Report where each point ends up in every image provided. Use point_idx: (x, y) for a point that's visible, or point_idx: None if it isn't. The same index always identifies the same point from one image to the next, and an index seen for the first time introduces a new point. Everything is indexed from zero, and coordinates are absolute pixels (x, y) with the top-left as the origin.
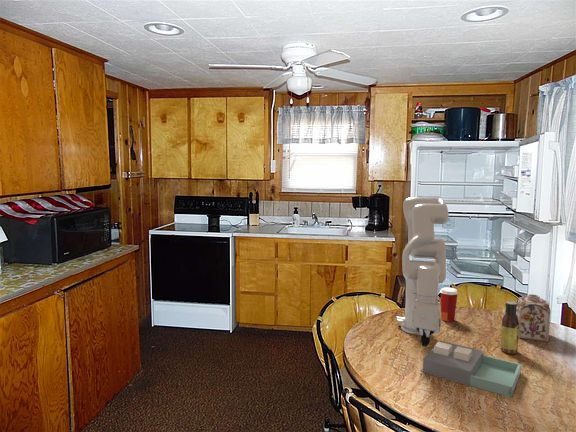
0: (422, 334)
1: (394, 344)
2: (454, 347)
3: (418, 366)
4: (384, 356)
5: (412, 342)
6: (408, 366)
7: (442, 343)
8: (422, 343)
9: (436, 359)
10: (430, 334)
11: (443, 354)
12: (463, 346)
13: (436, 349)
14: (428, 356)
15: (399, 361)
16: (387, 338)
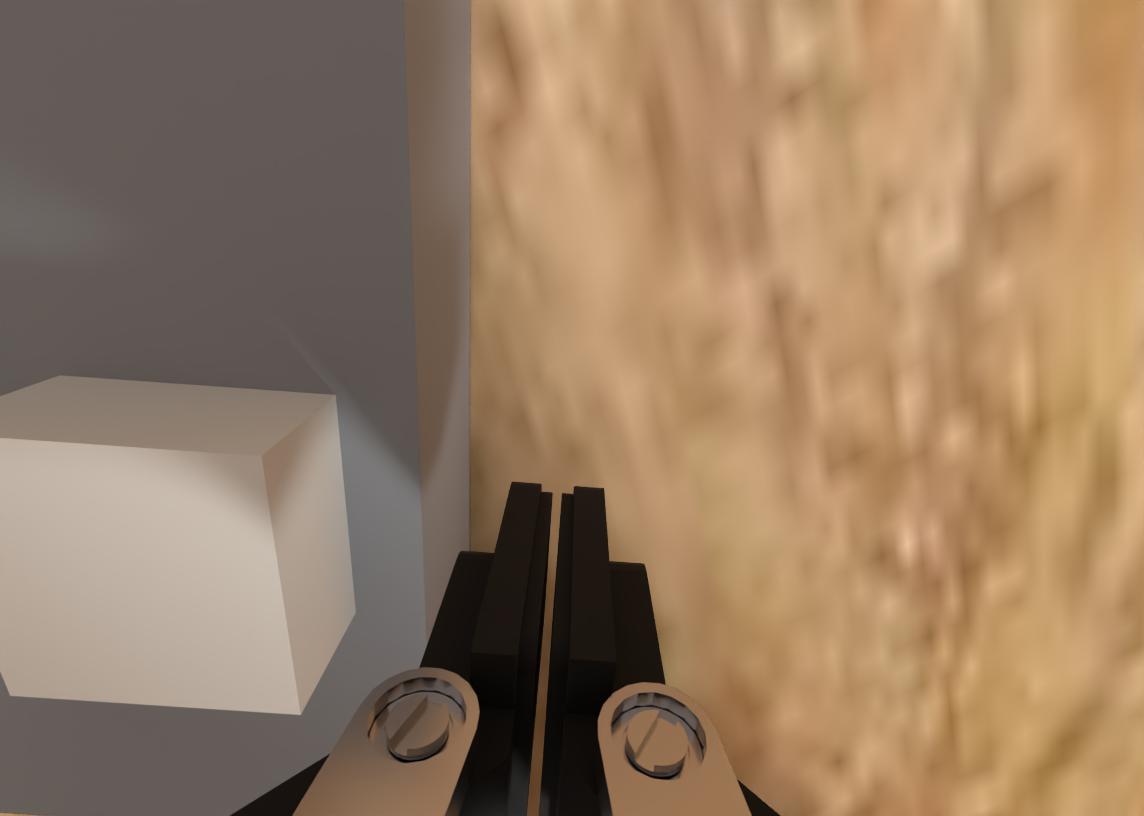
0: (610, 724)
1: (993, 650)
2: (167, 736)
3: (583, 181)
4: (1128, 239)
5: (793, 772)
6: (721, 87)
7: (189, 673)
8: (586, 512)
9: (134, 51)
10: (306, 793)
11: (136, 384)
12: (91, 810)
13: (244, 422)
14: (348, 123)
15: (881, 192)
16: (1085, 747)
